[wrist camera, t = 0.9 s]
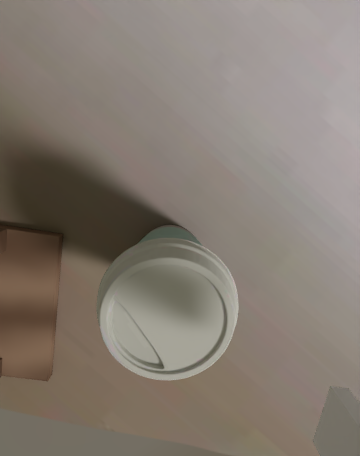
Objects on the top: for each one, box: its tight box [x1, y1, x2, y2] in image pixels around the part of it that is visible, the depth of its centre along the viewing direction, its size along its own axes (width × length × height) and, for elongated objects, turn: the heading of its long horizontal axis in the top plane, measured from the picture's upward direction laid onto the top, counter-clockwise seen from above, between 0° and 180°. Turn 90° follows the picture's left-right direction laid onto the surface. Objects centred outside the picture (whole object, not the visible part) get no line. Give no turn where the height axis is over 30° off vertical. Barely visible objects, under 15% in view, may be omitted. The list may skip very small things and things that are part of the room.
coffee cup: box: [97, 225, 238, 380], centre depth 22 cm, size 8×9×12 cm
